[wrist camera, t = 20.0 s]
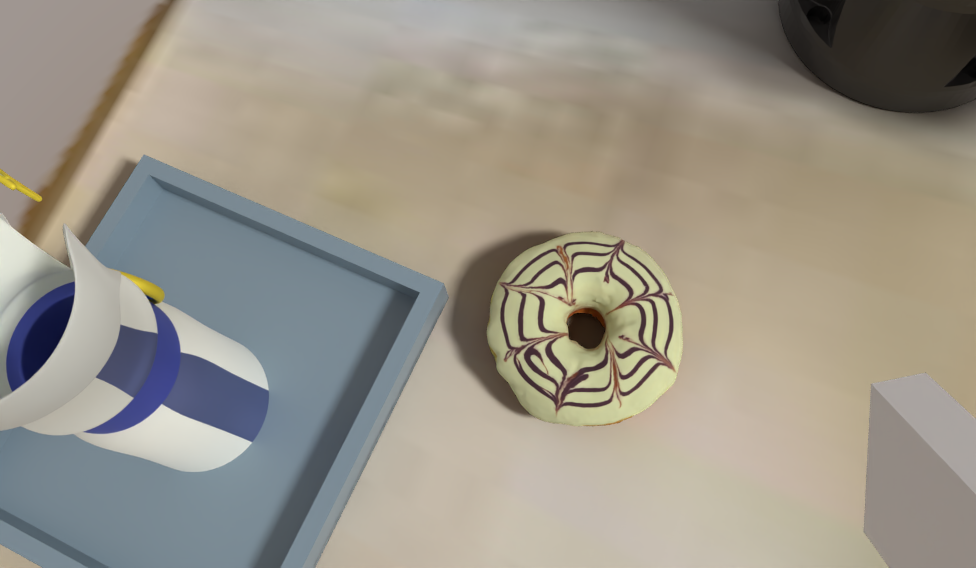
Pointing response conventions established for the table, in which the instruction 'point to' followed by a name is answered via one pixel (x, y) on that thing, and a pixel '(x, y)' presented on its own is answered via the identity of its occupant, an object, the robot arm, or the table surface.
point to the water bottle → (118, 361)
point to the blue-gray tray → (290, 375)
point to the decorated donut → (563, 362)
